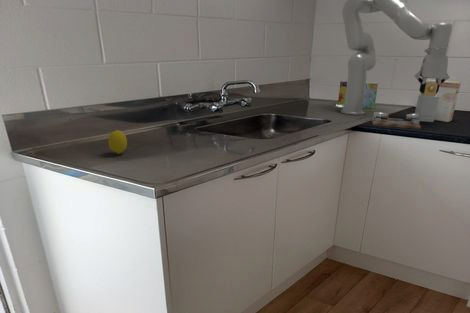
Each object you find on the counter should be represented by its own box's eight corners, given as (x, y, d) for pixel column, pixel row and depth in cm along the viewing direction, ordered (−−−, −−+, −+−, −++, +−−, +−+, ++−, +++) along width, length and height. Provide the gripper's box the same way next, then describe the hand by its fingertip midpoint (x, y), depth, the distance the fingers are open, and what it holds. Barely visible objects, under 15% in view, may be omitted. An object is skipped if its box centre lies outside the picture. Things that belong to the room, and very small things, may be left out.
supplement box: (433, 122, 168) (439, 96, 164) (417, 121, 169) (423, 95, 165) (428, 119, 175) (434, 94, 171) (413, 118, 176) (418, 93, 172)
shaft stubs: (373, 123, 159) (375, 111, 158) (371, 120, 167) (373, 108, 165) (420, 127, 154) (423, 114, 153) (416, 123, 162) (419, 111, 160)
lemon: (120, 150, 112) (118, 126, 109) (131, 153, 109) (129, 129, 106) (105, 154, 108) (103, 130, 105) (117, 158, 105) (114, 132, 102)
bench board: (373, 125, 159) (373, 122, 158) (371, 120, 168) (371, 118, 167) (420, 128, 154) (420, 126, 153) (415, 124, 163) (416, 121, 162)
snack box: (374, 107, 205) (378, 82, 201) (374, 109, 201) (378, 83, 196) (338, 104, 213) (341, 79, 209) (337, 105, 209) (340, 80, 204)
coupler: (436, 96, 155) (439, 83, 153) (424, 96, 156) (427, 82, 154) (430, 94, 161) (433, 81, 159) (419, 94, 162) (422, 81, 160)
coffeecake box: (451, 120, 173) (461, 81, 167) (448, 122, 168) (458, 82, 162) (420, 115, 183) (428, 78, 176) (416, 117, 178) (424, 79, 171)
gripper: (419, 51, 150) (411, 93, 156) (461, 53, 148) (451, 95, 153) (413, 51, 157) (406, 91, 163) (453, 52, 155) (444, 92, 160)
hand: (428, 92), depth 158 cm, fingers closed on coupler, 5 cm apart
